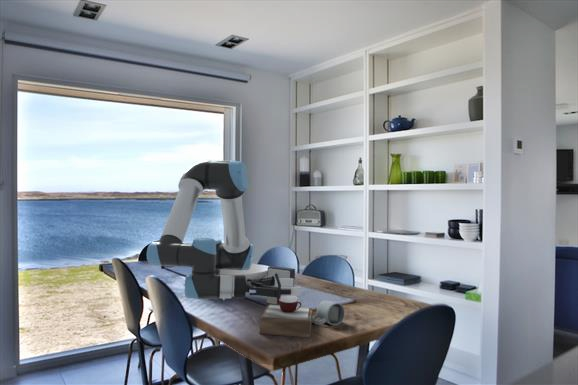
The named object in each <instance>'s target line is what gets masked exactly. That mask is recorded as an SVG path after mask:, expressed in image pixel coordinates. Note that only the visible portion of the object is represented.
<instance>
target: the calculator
mask: <svg viewBox="0 0 578 385" xmlns="http://www.w3.org/2000/svg"><path fill="white" fill-rule="evenodd" d="M276 273H277V274H278V277H279V278H284V279H293V287H295V285H294V284H295V278H296V269H295V268H292V267H291V268H290V267H283V266H275V265H274V266H273V265H272V266H268V267H267V275H266V276H267V277H266V278H268V277H272V276H275V274H276ZM275 278H276V277H275ZM275 278H274V280H275ZM272 287H275V284H274V286H272ZM278 288H279V287H278ZM266 304H268V305H279V299H278V298H276V297H267V296H266Z"/></svg>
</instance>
